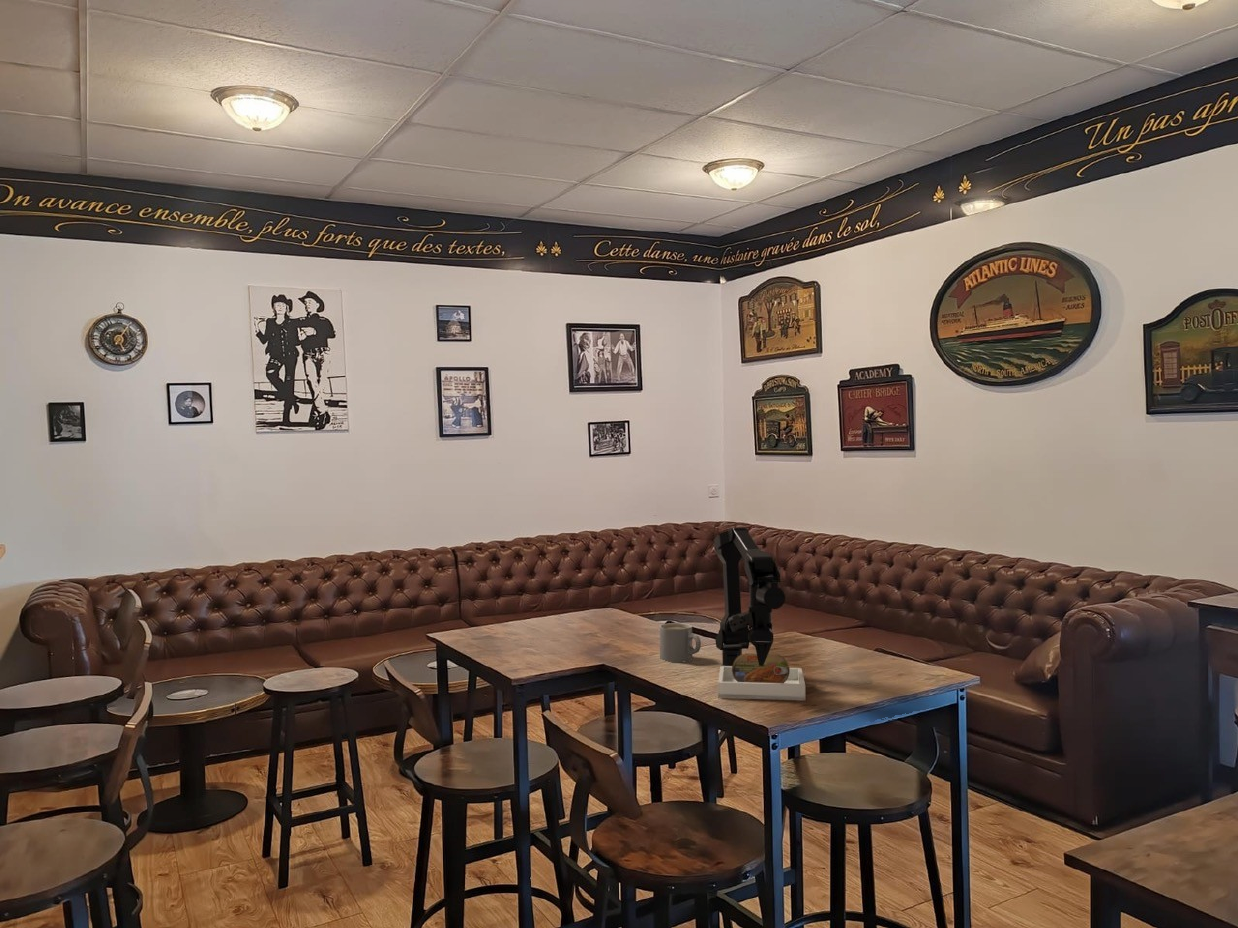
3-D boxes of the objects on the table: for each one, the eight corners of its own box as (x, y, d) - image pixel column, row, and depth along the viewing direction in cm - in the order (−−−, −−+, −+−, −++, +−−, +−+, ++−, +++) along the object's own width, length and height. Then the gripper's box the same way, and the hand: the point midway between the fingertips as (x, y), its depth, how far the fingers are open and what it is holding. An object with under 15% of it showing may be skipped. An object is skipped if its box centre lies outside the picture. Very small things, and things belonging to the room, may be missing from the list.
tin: (732, 685, 239) (731, 653, 239) (732, 682, 242) (732, 651, 242) (789, 687, 237) (789, 655, 237) (789, 684, 240) (789, 652, 240)
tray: (720, 680, 250) (720, 665, 250) (801, 682, 247) (801, 667, 247) (718, 697, 232) (718, 682, 232) (805, 700, 229) (805, 684, 229)
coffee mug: (653, 658, 277) (653, 626, 277) (675, 653, 284) (675, 621, 284) (685, 665, 267) (684, 632, 267) (707, 660, 274) (707, 627, 274)
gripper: (730, 596, 249) (731, 653, 250) (729, 608, 231) (729, 669, 231) (771, 597, 248) (771, 654, 248) (773, 609, 229) (773, 670, 230)
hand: (761, 661), depth 239 cm, fingers open, 9 cm apart
